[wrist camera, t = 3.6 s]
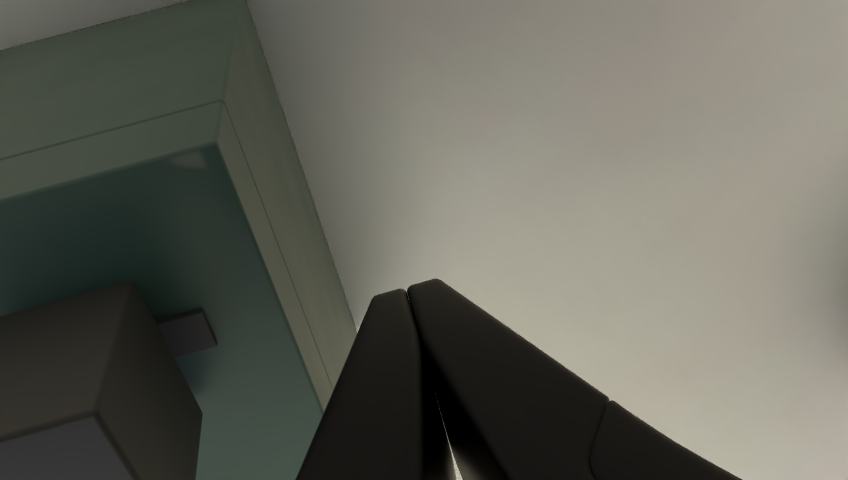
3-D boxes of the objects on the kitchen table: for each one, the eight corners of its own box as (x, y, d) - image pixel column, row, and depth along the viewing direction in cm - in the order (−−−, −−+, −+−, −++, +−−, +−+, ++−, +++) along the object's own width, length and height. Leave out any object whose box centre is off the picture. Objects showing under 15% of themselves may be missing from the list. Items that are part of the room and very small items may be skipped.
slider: (133, 276, 9) (94, 410, 7) (205, 413, 10) (188, 559, 8) (-26, 321, 9) (-112, 469, 7) (65, 453, 10) (14, 611, 8)
